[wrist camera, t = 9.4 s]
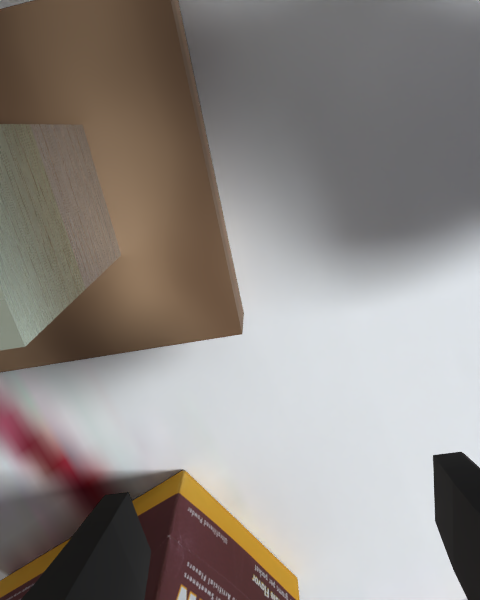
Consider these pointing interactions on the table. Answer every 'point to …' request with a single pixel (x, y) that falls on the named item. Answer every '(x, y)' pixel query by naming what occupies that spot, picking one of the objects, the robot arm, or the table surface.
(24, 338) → the block
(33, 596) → the robot arm
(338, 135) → the table surface
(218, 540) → the supplement box
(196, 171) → the walnut stand
